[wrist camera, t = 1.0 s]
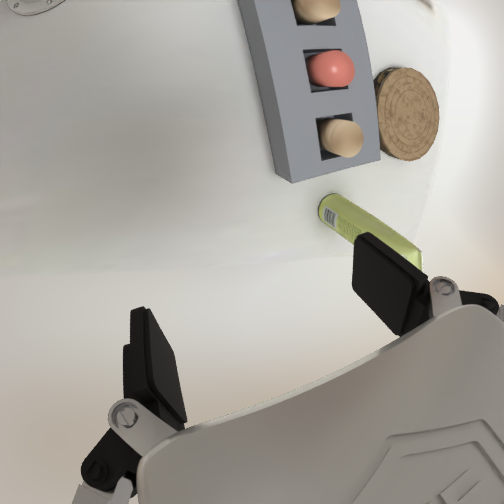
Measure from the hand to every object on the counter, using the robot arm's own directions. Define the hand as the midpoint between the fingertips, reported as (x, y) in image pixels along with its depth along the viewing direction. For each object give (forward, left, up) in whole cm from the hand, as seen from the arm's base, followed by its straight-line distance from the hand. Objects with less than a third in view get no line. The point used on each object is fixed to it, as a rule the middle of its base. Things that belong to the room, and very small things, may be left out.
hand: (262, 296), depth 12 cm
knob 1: (-17, +18, -23) cm, 33 cm away
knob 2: (0, +18, -23) cm, 29 cm away
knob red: (-9, +18, -23) cm, 30 cm away
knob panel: (-9, +18, -26) cm, 32 cm away
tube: (+12, +19, -26) cm, 34 cm away
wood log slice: (-1, +35, -26) cm, 43 cm away
